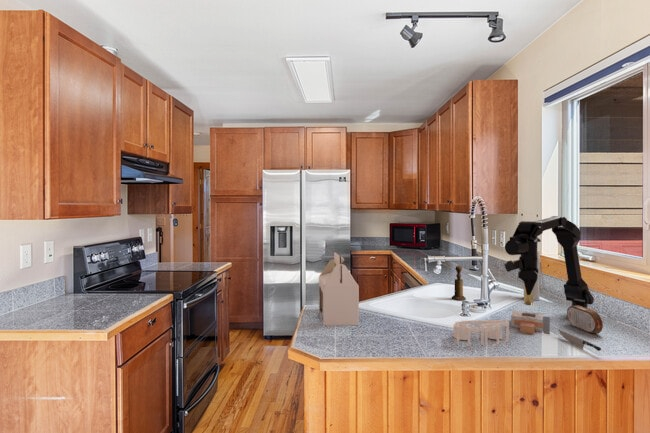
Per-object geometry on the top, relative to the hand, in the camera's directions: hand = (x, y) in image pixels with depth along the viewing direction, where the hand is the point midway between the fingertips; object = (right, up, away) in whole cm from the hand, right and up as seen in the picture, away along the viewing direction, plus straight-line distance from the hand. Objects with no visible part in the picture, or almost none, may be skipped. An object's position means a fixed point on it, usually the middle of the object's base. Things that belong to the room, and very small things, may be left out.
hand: (528, 294), depth 145 cm
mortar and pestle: (-12, -13, +41) cm, 45 cm away
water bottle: (+27, -13, +46) cm, 54 cm away
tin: (+19, -13, -3) cm, 23 cm away
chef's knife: (+5, -13, -21) cm, 25 cm away
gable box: (-74, -13, +5) cm, 75 cm away
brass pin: (0, -4, 0) cm, 4 cm away
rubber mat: (+3, -13, +5) cm, 14 cm away
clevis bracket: (-2, -13, -2) cm, 13 cm away
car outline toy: (-26, -13, -18) cm, 34 cm away
